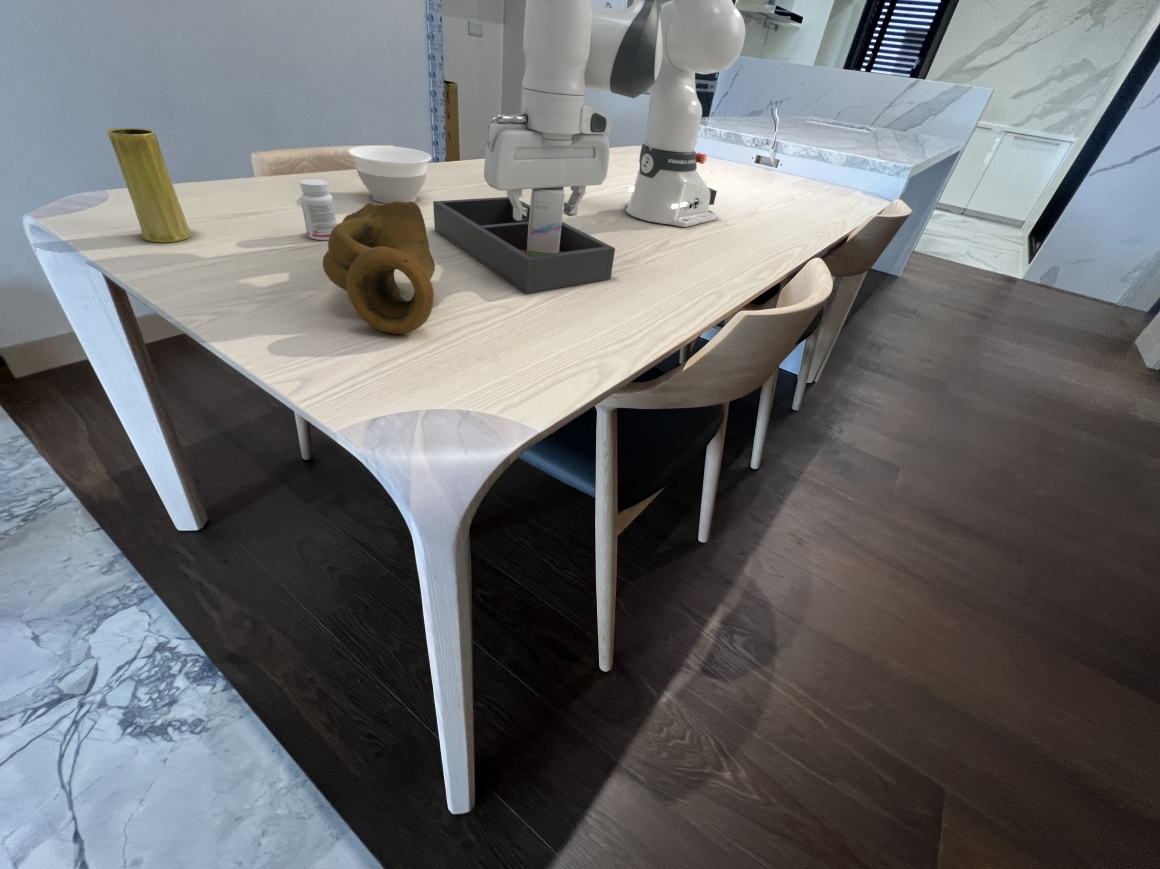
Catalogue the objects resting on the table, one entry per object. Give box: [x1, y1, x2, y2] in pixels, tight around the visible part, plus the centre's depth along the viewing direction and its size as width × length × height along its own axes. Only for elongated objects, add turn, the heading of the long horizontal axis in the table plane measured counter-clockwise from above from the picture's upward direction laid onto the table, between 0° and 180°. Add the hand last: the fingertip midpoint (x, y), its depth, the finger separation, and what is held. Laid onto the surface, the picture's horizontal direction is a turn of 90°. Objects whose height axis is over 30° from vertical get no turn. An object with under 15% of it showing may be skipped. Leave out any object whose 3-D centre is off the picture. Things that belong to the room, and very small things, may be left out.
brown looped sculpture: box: [322, 201, 436, 335], centre depth 69 cm, size 18×13×22 cm
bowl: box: [347, 145, 432, 204], centre depth 109 cm, size 16×16×9 cm
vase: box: [106, 127, 192, 243], centre depth 77 cm, size 6×6×14 cm
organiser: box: [432, 196, 616, 295], centre depth 91 cm, size 16×32×5 cm, turn 37°
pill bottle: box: [299, 178, 338, 241], centre depth 86 cm, size 5×5×8 cm
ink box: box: [527, 187, 566, 257], centre depth 85 cm, size 9×5×12 cm, turn 5°
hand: (545, 217), depth 83 cm, fingers open, 8 cm apart
